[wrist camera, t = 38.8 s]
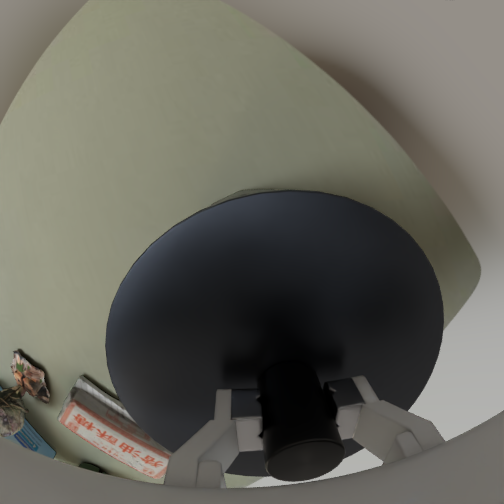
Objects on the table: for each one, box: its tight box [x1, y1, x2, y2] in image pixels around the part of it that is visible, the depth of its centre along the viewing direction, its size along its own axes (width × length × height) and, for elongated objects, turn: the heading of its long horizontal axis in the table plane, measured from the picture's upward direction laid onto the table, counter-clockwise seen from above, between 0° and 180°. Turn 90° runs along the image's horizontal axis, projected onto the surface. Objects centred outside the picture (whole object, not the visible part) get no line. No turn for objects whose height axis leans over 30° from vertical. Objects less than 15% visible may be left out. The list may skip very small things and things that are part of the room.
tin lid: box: [105, 189, 444, 482], centre depth 9 cm, size 15×15×5 cm
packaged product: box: [57, 375, 173, 479], centre depth 29 cm, size 18×5×10 cm
